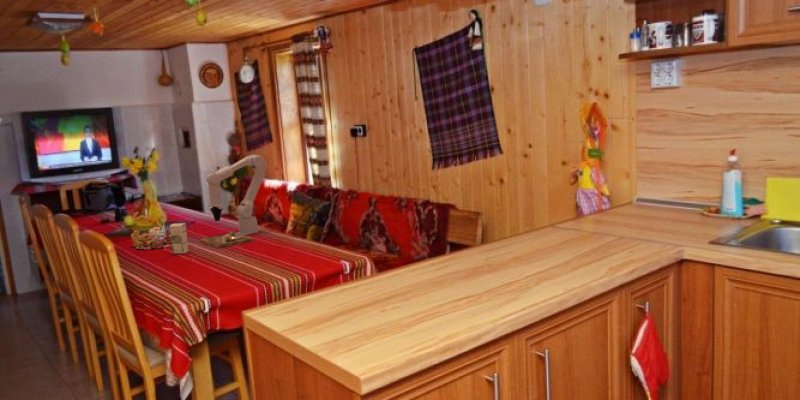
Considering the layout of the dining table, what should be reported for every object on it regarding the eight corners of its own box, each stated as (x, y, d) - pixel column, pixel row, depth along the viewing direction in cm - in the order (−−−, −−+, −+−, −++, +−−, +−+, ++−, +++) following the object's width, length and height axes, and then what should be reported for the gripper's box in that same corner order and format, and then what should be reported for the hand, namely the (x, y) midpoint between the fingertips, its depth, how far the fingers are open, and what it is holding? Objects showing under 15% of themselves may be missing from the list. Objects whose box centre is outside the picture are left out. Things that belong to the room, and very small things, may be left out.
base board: (235, 235, 342) (235, 232, 341) (254, 241, 325) (253, 238, 325) (200, 241, 329) (199, 239, 329) (217, 248, 312) (217, 245, 312)
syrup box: (188, 251, 310) (185, 222, 308) (183, 254, 305) (180, 225, 302) (178, 251, 311) (174, 222, 309) (172, 254, 305) (169, 225, 303)
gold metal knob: (231, 240, 321) (230, 234, 321) (232, 241, 320) (232, 235, 319) (228, 241, 320) (227, 235, 320) (229, 242, 319) (229, 235, 318)
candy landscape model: (149, 252, 312) (146, 234, 311) (124, 247, 326) (121, 230, 325) (192, 242, 332) (190, 225, 330) (166, 237, 346) (164, 221, 344)
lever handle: (225, 236, 332) (224, 230, 332) (245, 235, 332) (244, 229, 331) (213, 244, 315) (212, 237, 315) (234, 243, 314) (233, 237, 314)
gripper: (202, 195, 336) (204, 220, 338) (213, 198, 325) (216, 223, 327) (214, 193, 340) (217, 218, 343) (226, 196, 329) (228, 221, 332)
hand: (217, 220), depth 335 cm, fingers closed
